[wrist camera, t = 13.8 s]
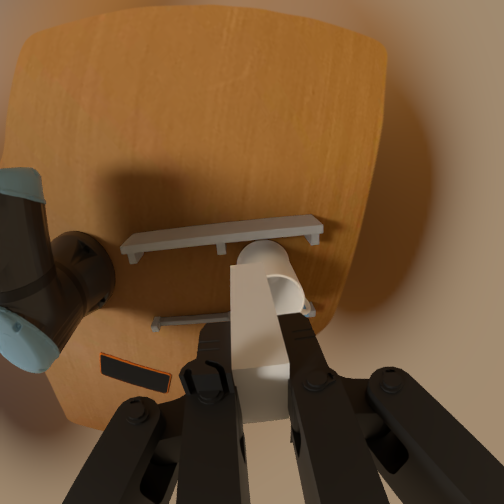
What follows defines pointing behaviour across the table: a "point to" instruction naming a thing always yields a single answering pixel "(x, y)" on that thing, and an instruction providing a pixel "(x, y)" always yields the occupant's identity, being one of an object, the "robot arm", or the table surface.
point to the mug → (277, 276)
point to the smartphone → (134, 373)
